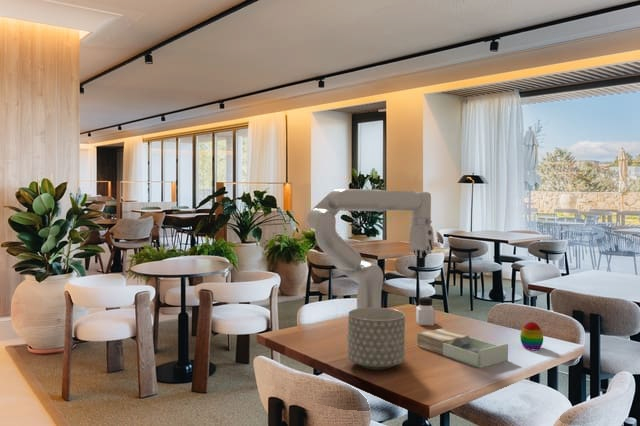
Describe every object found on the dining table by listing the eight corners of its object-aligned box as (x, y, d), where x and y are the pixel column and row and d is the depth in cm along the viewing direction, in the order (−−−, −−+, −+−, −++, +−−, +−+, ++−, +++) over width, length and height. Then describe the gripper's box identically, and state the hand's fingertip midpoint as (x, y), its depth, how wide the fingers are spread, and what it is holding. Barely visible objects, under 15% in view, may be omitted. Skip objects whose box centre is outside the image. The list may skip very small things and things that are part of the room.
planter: (414, 373, 169) (414, 318, 168) (359, 378, 164) (360, 321, 163) (390, 355, 187) (390, 306, 187) (340, 360, 182) (341, 309, 181)
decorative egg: (521, 343, 204) (521, 318, 204) (543, 346, 201) (544, 320, 200) (519, 349, 197) (519, 323, 196) (542, 352, 193) (543, 325, 193)
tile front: (460, 347, 187) (460, 354, 187) (470, 351, 183) (470, 358, 183) (470, 345, 190) (469, 352, 190) (480, 349, 185) (480, 356, 185)
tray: (479, 368, 174) (479, 350, 174) (442, 355, 188) (443, 339, 188) (507, 360, 182) (508, 343, 182) (470, 348, 196) (470, 333, 196)
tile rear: (453, 347, 191) (457, 352, 189) (459, 338, 188) (464, 344, 187) (462, 345, 194) (466, 350, 192) (468, 336, 191) (473, 342, 189)
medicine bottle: (434, 325, 232) (434, 299, 231) (418, 325, 232) (419, 298, 231) (431, 321, 239) (431, 296, 238) (415, 321, 239) (416, 295, 238)
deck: (442, 354, 189) (442, 341, 189) (417, 345, 200) (417, 333, 200) (468, 348, 197) (468, 335, 196) (442, 340, 207) (443, 328, 207)
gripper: (441, 223, 206) (440, 268, 206) (415, 221, 218) (414, 264, 219) (427, 223, 201) (427, 270, 202) (401, 221, 214) (401, 265, 215)
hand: (420, 267), depth 210 cm, fingers closed
